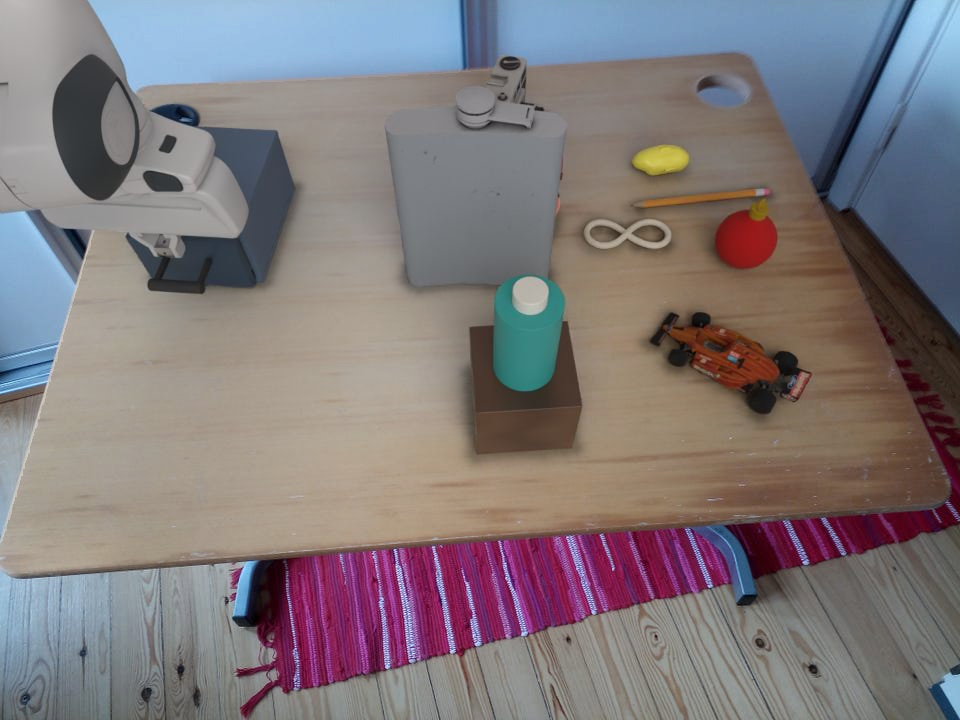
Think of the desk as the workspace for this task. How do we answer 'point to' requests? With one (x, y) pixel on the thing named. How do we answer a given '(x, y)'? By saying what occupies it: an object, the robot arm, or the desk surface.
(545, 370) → the detergent bottle
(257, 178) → the cabinet
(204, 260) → the drawer
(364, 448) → the desk surface
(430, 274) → the flask
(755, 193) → the pencil
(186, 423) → the desk surface
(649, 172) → the lemon
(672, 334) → the toy car
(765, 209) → the christmas ornament
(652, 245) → the decorative object
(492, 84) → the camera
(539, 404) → the stand
